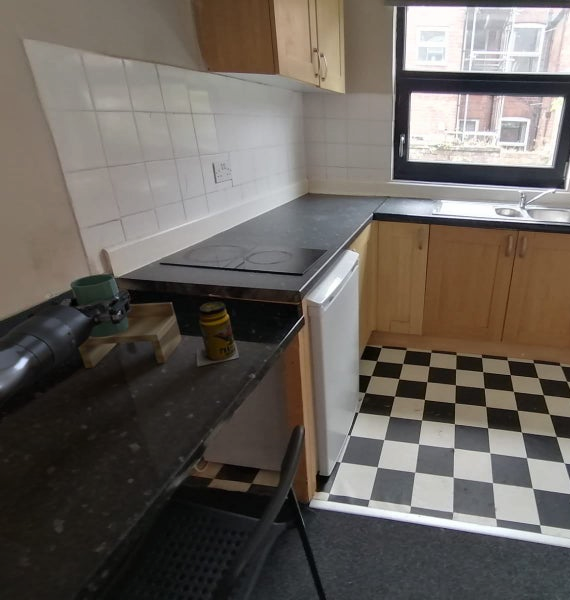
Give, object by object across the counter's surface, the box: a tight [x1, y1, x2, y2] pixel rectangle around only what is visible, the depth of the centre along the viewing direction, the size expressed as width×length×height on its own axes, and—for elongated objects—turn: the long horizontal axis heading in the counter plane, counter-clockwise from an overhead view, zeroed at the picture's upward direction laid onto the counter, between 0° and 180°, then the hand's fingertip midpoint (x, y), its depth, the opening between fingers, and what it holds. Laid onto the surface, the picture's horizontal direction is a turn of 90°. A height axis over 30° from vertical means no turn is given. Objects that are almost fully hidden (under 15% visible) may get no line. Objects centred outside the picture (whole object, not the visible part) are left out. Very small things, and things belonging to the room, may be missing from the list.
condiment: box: [195, 301, 240, 368], centre depth 88 cm, size 7×8×12 cm
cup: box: [69, 273, 129, 337], centre depth 74 cm, size 6×6×10 cm
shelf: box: [77, 301, 183, 369], centre depth 89 cm, size 16×10×10 cm, turn 97°
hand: (106, 295), depth 76 cm, fingers closed on cup, 6 cm apart
